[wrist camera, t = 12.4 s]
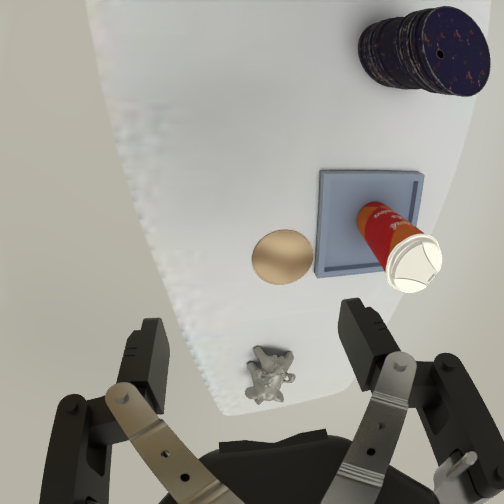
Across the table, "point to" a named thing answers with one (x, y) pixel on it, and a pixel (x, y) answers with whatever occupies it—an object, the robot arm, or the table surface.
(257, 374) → the elephant statuette
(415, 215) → the tray
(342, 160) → the table surface
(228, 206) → the table surface
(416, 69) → the storage jar
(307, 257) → the cork coaster
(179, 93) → the table surface
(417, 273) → the paper cup
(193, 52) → the table surface
